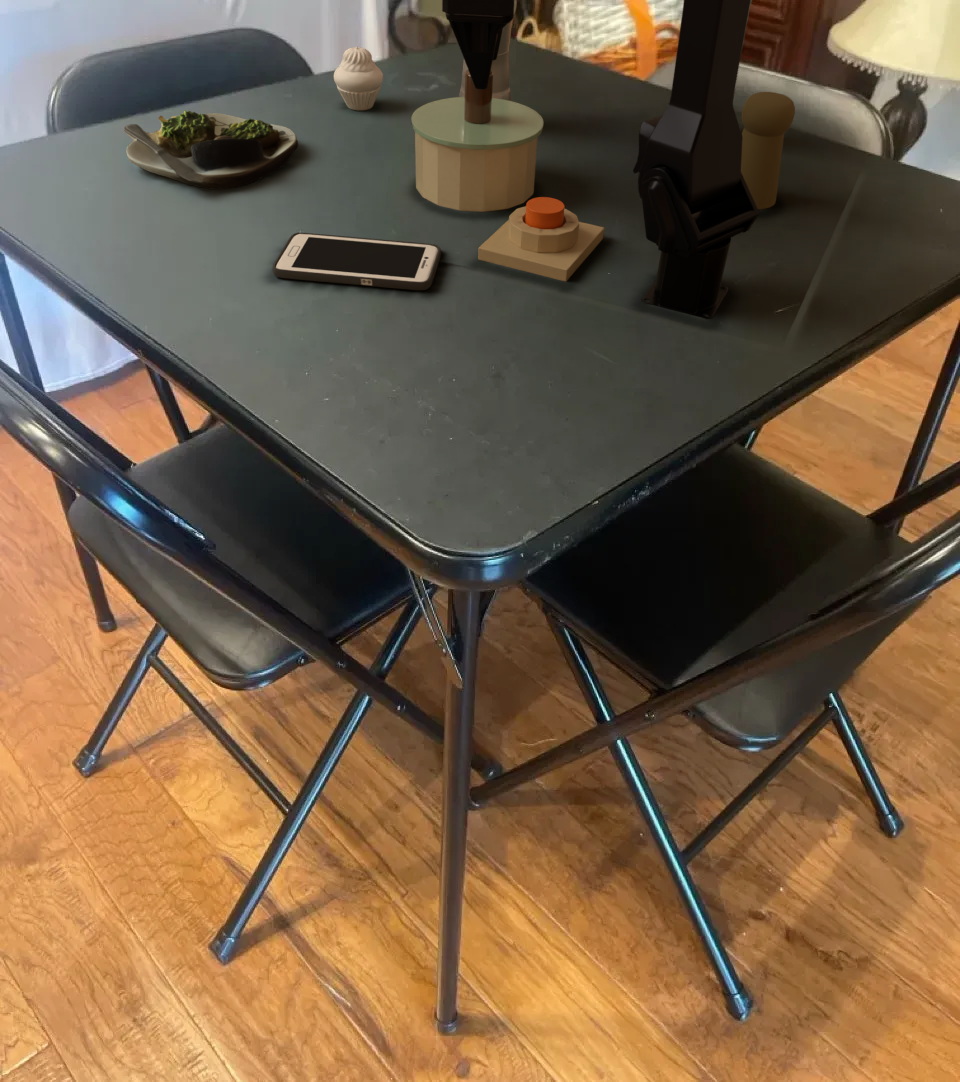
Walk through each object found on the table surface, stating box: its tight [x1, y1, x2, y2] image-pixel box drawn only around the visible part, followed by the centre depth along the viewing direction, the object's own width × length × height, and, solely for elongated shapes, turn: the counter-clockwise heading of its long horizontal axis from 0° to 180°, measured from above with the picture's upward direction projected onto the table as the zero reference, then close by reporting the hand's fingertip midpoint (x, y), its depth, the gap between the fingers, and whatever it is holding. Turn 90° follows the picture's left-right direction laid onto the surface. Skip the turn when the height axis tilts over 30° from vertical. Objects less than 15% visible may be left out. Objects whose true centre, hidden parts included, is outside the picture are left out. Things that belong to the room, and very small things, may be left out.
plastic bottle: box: [458, 19, 514, 101], centre depth 106 cm, size 6×7×20 cm
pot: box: [414, 131, 538, 213], centre depth 97 cm, size 13×13×7 cm
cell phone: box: [272, 232, 442, 291], centre depth 86 cm, size 8×15×1 cm, turn 83°
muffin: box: [333, 45, 384, 111], centre depth 115 cm, size 6×6×7 cm
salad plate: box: [123, 110, 299, 190], centre depth 102 cm, size 19×18×5 cm
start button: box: [525, 196, 566, 229], centre depth 87 cm, size 4×4×2 cm
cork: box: [741, 91, 796, 210], centre depth 96 cm, size 6×6×11 cm
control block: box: [477, 205, 605, 282], centre depth 88 cm, size 10×9×4 cm
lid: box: [411, 70, 545, 150], centre depth 93 cm, size 14×14×6 cm
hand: (486, 73), depth 90 cm, fingers open, 9 cm apart
